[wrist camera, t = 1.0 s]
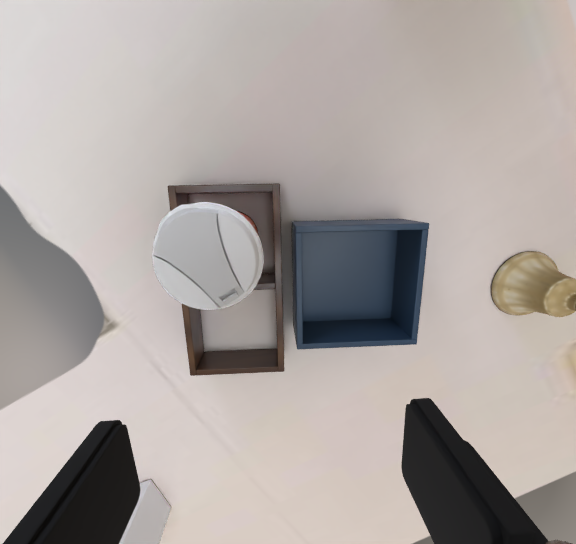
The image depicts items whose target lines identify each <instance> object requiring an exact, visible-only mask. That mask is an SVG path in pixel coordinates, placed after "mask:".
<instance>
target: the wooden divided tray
mask: <svg viewBox="0 0 576 544" xmlns="http://www.w3.org/2000/svg"><path fill="white" fill-rule="evenodd" d="M266 192H273V223H274V255H275V273H270V274H261V277H260V279H259V281H258V283H257V285H256V287H255V288H254V289H253V290H259V289H275V288H276V319H277V349H259V350H235V351H212V352H204V345H203V336H202V326H201V316H200V309H196V308H192V307H189V306H186V305H184V304H182V309H183V318H184V326H185V334H186V343H187V351H188V359H189V368H190V375H191V376H192V375H214V374H236V373H258V372H283V371H284V340H283V300H282V261H281V221H280V184H237V185H179V186H168V193H169V201H170V210H171V211H172V210H173V209H175V208H176V207H178V206H180V205H184V204H189V201H188V194H212V193H266Z"/></svg>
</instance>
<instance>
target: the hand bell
mask: <svg viewBox="0 0 576 544" xmlns="http://www.w3.org/2000/svg"><path fill="white" fill-rule="evenodd" d="M492 298H493V301H494V303H495V304H496V306H497V307H498V308H499V309H500V310H501V311H503V312H505V313H507V314H510V315H526V314H530V313H533V312H540V313H544V314H548V315H551V316H555V317H564V316H568V315H570V314H572V313H574V312H575V311H576V279H574V278H571V277H569V276H566V275H564V274H562V273H560V272H559V271H558V268H557V266H556V264H555V263H554V261H553V260H552V259H551V258H549V257H548V256H547V255H545V254H543V253H540V252H534V251H531V252H523V253H520V254H517V255H515V256H513V257H512V258H510V259H509V260H508V261H506V262H505V263H504V264H503V265H502V266H501V267H500V269H499V270H498V271H497V273H496V275H495V277H494V280H493V283H492Z"/></svg>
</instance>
